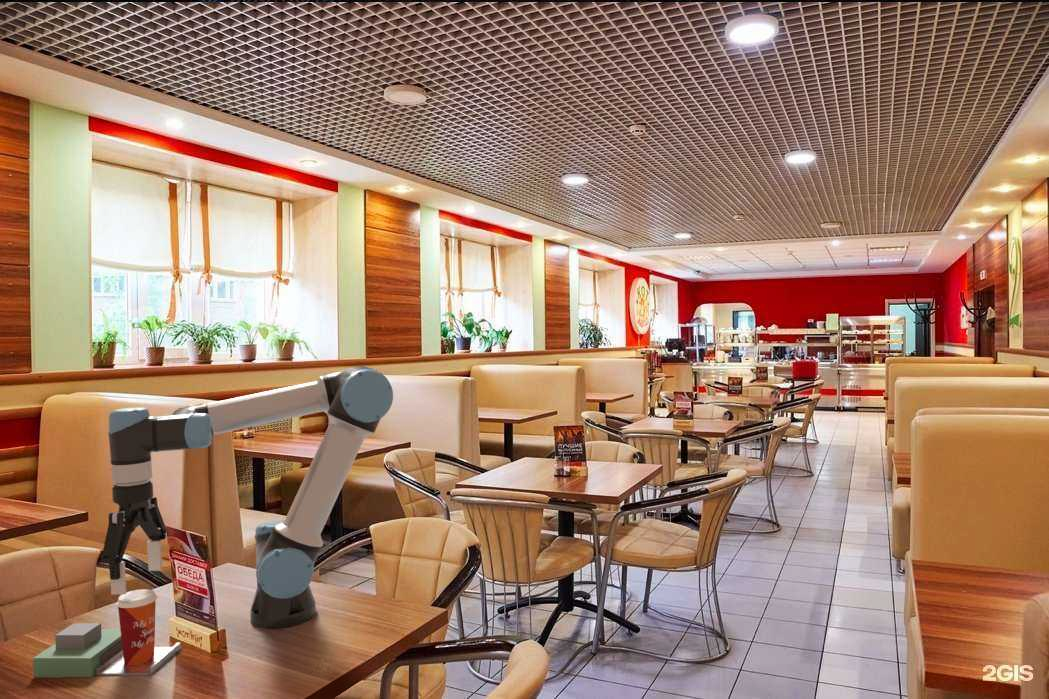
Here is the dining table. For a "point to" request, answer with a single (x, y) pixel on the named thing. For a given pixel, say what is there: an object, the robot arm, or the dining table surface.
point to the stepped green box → (78, 651)
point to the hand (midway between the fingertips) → (138, 581)
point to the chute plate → (118, 666)
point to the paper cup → (137, 625)
